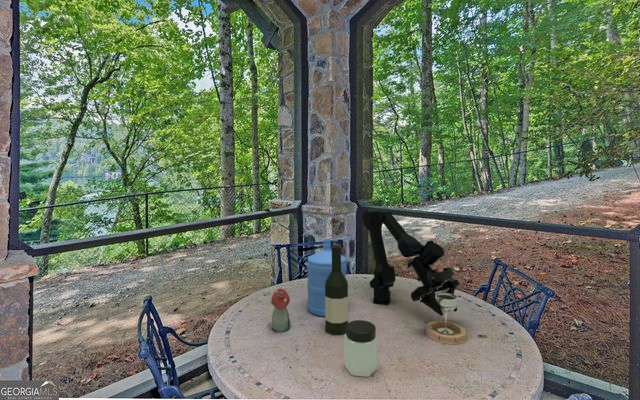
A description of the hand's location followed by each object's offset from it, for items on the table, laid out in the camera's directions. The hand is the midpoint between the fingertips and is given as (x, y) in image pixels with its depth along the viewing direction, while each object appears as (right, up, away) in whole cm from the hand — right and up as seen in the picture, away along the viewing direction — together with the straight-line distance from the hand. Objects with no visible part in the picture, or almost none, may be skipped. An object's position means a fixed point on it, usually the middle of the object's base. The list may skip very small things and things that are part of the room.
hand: (449, 313), depth 108 cm
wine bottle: (-37, -8, +6) cm, 38 cm away
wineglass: (-1, -7, +2) cm, 7 cm away
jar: (-31, -10, -17) cm, 37 cm away
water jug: (-40, -7, +23) cm, 47 cm away
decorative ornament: (-56, -8, +7) cm, 57 cm away
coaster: (0, -8, +2) cm, 8 cm away
